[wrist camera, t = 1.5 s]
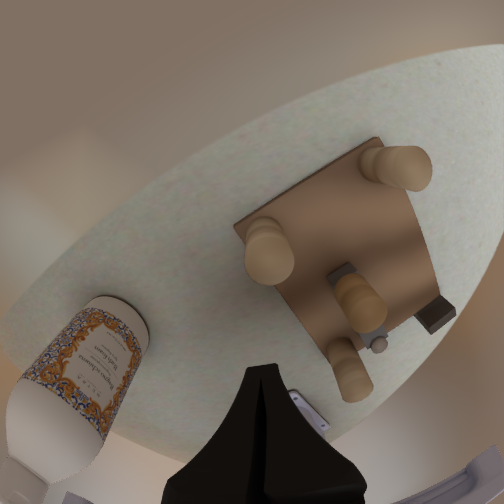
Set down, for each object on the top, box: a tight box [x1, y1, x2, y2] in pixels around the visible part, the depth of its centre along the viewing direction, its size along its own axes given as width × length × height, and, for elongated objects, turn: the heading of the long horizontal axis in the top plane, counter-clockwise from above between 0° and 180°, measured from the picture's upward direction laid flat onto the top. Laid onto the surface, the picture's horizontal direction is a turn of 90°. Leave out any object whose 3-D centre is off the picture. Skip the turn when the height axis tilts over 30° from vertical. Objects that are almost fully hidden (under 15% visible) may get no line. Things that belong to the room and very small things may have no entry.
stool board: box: [233, 137, 456, 403], centre depth 17 cm, size 16×12×6 cm
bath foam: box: [0, 296, 149, 504], centre depth 12 cm, size 7×7×20 cm
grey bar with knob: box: [327, 262, 388, 354], centre depth 17 cm, size 8×2×5 cm, turn 34°
